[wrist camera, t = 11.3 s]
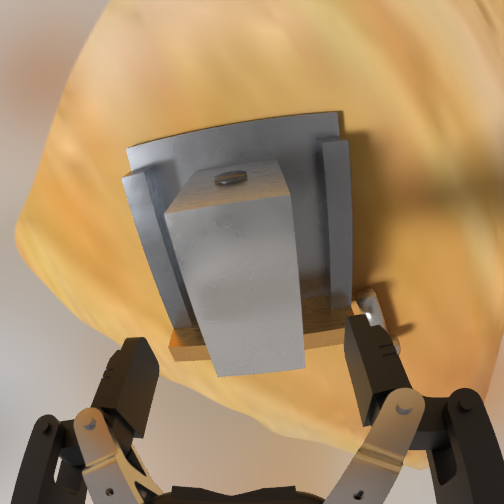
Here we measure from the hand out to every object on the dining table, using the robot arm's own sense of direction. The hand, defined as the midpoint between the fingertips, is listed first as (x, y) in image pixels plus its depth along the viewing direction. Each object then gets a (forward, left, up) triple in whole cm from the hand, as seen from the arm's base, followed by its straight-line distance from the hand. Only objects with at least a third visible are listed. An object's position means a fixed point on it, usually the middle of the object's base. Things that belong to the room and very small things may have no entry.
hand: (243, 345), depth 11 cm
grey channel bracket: (+1, 0, -10) cm, 10 cm away
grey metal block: (0, 0, -10) cm, 10 cm away
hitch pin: (+9, +9, -10) cm, 16 cm away
